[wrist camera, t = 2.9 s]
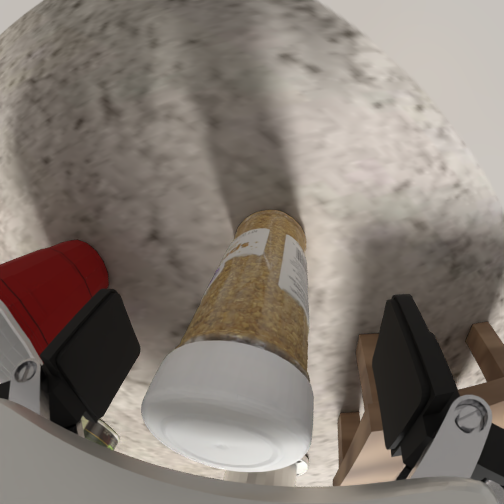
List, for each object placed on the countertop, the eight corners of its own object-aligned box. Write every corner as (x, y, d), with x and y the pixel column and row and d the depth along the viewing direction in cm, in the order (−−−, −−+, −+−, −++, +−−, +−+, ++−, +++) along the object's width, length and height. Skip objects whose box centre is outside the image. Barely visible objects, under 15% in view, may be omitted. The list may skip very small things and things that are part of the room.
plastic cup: (160, 280, 20) (67, 400, 10) (104, 335, 25) (39, 422, 14) (70, 180, 18) (-56, 238, 7) (35, 258, 22) (-46, 321, 11)
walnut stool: (443, 410, 23) (460, 471, 15) (332, 425, 25) (332, 497, 17) (493, 316, 17) (538, 385, 9) (353, 329, 20) (371, 431, 12)
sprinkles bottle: (238, 203, 17) (117, 372, 5) (312, 214, 17) (337, 417, 5) (233, 269, 19) (152, 455, 7) (300, 279, 19) (290, 483, 7)
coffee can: (119, 429, 35) (86, 494, 22) (120, 447, 39) (93, 501, 26) (67, 398, 34) (29, 456, 22) (75, 421, 39) (45, 471, 26)
